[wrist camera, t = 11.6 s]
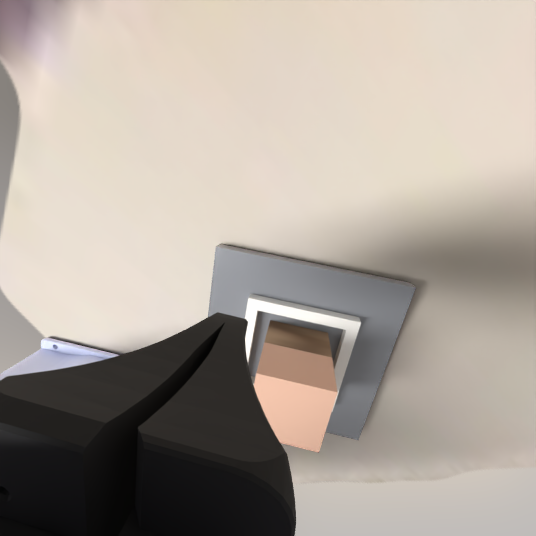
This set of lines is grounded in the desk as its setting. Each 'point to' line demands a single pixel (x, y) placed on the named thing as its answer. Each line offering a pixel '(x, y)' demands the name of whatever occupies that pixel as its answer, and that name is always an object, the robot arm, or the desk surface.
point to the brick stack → (296, 384)
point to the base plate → (316, 318)
